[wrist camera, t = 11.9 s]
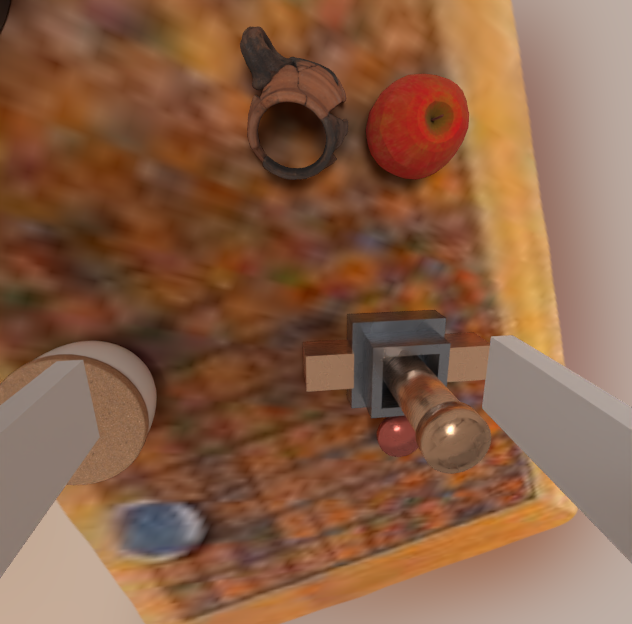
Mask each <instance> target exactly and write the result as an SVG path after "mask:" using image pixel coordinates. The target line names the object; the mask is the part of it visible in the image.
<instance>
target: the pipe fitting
mask: <svg viewBox="0 0 632 624" xmlns="http://www.w3.org/2000/svg"><path fill="white" fill-rule="evenodd" d="M382 379H383V380H384V382H385V383H386V385H387V387H388V388H389V390H390V392H391V393H392V395H393V397H394V398H395V400H396V401H397V403H398V405H399V406H400V408H401V410H402V411H403V413H404V415H405V416H406V418H407V420H408V421H409V423H410V424H411V426H412V428H413V429H414V431H415V433H416V434H415V438H416V443H417V445H418V447H419V449H420V451H421V453H422V454H423V456H424V458H425V459H426V461H427V463H428V464H429V465H430V466H431V467H432V468H434V469H435V470H437V471H440V472H443V473H459V472H463V471H465V470H468V469H470V468H472V467H473V466H475V465H476V464H477V463H479V462H480V461H481V460H482V458H483V457H484V456H485V454H486V453H487V451H488V449H489V446H490V442H491V433H490V429H489V427H488V425H487V423H486V422H485V421H484V420H483V419H482V418H481V417H480V416H479V415H478V413H477V412H476V411H475V410H474V409H473V408H472V407H470V406H469V405H467V404H465V403H462V402H459V401H458V400H457V398H456V397H455V396H454V395H453V394H452V393H451V392H450V391H449V390H448V389H447V387H446V386H445V385H444V384H443V383H442V382H441V381H440V380H439V379H438V378H437V377H436V375H435V374H434V373H433V372H432V371H431V370H430V369H429V368H428V367H427V366H426V364H425V363H424V362H423V361H422V360H421V359H420V358H419V357H418V356H417V355H410V356H393V357H383V378H382Z"/></svg>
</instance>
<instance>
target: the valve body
mask: <svg viewBox="0 0 632 624" xmlns="http://www.w3.org/2000/svg"><path fill="white" fill-rule="evenodd" d="M445 324H446V318H445V317H444V316H442V315H441V314H440V313H438V312H437V311H436V310H422V311H402V312H382V313H361V314H347V340H329V341H311V342H303V362H304V378H305V384H306V390H307V392H308V391H323V390H338V389H347V397H348V400H349V402H350V405H351V408H362V407H367V409H368V412H369V414H370V416H371V418H379V417H387V418H386V419H384V420H383V421H382V422H381V424H380V425H379V427H378V430H377V440H378V443H379V445H380V447H381V449H382V450H383V451H384V452H385V453H386V454H388V455H391V456H395V457H401V456H406V455H408V454H410V453H412V452H414V451H415V450H416V449H417V448H418V445H417V443H416V438H415V434H416V433H415V431H414V429H413V428H412V426H411V424H410V423H409V421H408V420H407V418H406V416H405V415H404V413H403V411H402V410H401V408H400V406H399V405H398V403H397V401H396V400H395V398H394V397H393V395H392V393H391V392H390V390H389V388H388V387H387V385H386V383H385V382H384V380H383V379H382V378H383V357H393V356H410V355H417V356H418V357H419V358H420V359H421V360H422V361H423V362H424V363H425V364H426V366H427V367H428V368H429V369H430V370H431V371H432V372H433V373H434V374H435V375H436V377H437V378H438V379H439V380H440V381H441V382H442V383H443V384H444V385H445V386H446V387H447V382H456V381H470V380H485V379H486V373H487V365H488V357H489V349H490V343H488V342H487V341H486V340H484V339H483V338H481V337H480V336H478V335H477V334H476V333H456V334H445Z"/></svg>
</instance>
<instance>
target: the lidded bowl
mask: <svg viewBox="0 0 632 624" xmlns="http://www.w3.org/2000/svg"><path fill="white" fill-rule="evenodd" d="M70 360H83V361H84V366H85V371H86V375H87V380H88V385H89V389H90V394H91V399H92V403H93V408H94V412H95V417H96V422H97V426H98V431H99V436H100V437H99V439H98V440H97V442H96V443H95V444H94V446H93V447H92V449H91V450H90V452H89V453H88V454H87V456H86V457H85V459H84V460H83V462H82V463H81V464H80V466H79V467H78V469H77V470H76V471H75V473H74V474H73V476H72V477H71V479H70V480H69V481H68V483H67V484H66V485H87V484H92V483H97V482H101V481H104V480H107V479H109V478H112V477H114V476H116V475H118V474H119V473H121V472H122V471H124V470H125V469H126V468H127V467H128V466H130V465H131V464H132V463H133V461H134V460H135V459H136V458H137V456H138V455H139V453H140V451H141V449H142V447H143V445H144V443H145V441H146V437H147V434H148V432H149V430H150V428H151V425H152V422H153V418H154V415H155V411H156V401H157V394H156V387H155V383H154V379H153V377H152V375H151V372H150V371H149V369H148V368H147V366H146V365H145V364H144V363H143V361H142V360H141V359H140V358H139V357H137V356H136V355H135V354H134V353H132V352H131V351H129V350H127V349H126V348H123V347H121V346H119V345H116V344H113V343H109V342H103V341H80V342H74V343H71V344H67V345H64V346H60V347H58V348H56V349H53V350H51V351H49V352H47V353H45V354H43V355H41V356H39V357H38V358H36V359H35V360H33V361H31V362H29V363H27V364H25V365H23V366H21V367H20V368H19V369H17V370H16V371H14V372H13V373H11V374H10V375H9V376H8V377H7V378H6V379H5V380H4V381H3V382H2V383H1V384H0V405H2V404H3V403H4V402H5V401H7V400H8V399H9V398H10V397H12V396H13V395H14V394H16V393H17V392H18V391H19V390H21V389H22V388H23V387H24V386H26V385H27V384H28V383H30V382H31V381H32V380H33V379H35V378H36V377H37V376H38V375H40V374H41V373H42V372H44V371H45V370H46V369H47V368H49V367H50V366H51V365H52V364H54V363H55V362H56V361H70Z"/></svg>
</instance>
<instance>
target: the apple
mask: <svg viewBox="0 0 632 624" xmlns="http://www.w3.org/2000/svg"><path fill="white" fill-rule="evenodd" d="M468 124H469V112H468V107H467V101H466V98H465V96H464V93H463V91H462V90H461V89H460V87H459V86H458V85H457V84H455V83H454V82H452V81H451V80H449V79H446V78H443V77H440V76H437V75H430V74H414V75H407V76H405V77H403V78H401V79H399V80H397V81H395V82H394V83H392V84H391V85H390V86H389V87H388V88H386V89H385V90H384V91H383V92H382V93H381V94H380V96H379V98H378V99H377V101H376V102H375V104H374V106H373V107H372V109H371V110H370V112H369V117H368V122H367V127H366V136H367V142H368V147H369V150H370V153H371V155H372V157H373V158H374V159H375V161H376V162H377V164H378V165H379V166H381V167H382V168H383V169H385V170H386V171H387V172H389V173H391V174H394V175H396V176H398V177H401V178H405V179H420V178H425V177H427V176H429V175H431V174H434V173H436V172H437V171H438V170H439V169H441V168H442V167H443V166H445V165H446V164H447V163H448V162H449V161H450V160H451V158H452V157H453V156H454V155H455V153H456V152H457V150H458V149H459V147H460V145H461V144H462V142H463V140H464V137H465V135H466V132H467V130H468Z"/></svg>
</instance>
